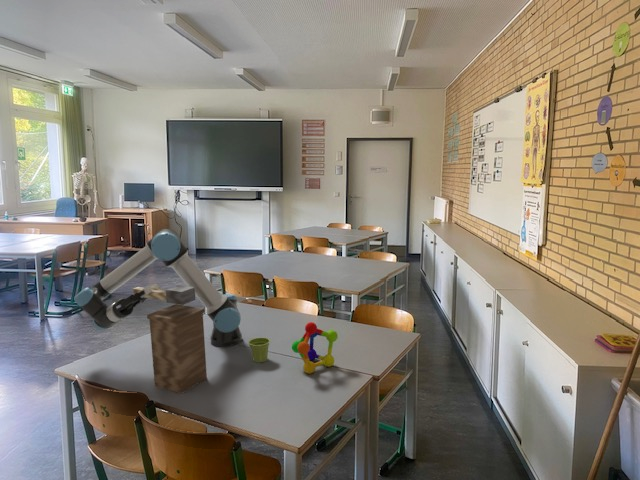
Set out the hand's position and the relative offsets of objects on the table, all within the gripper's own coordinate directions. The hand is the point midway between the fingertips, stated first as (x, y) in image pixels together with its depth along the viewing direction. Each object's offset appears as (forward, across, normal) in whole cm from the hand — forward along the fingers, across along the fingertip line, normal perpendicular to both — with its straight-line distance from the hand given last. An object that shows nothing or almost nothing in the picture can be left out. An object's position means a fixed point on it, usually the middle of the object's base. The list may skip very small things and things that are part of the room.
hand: (153, 287), depth 181 cm
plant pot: (+5, -31, -47) cm, 56 cm away
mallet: (+1, 0, -6) cm, 6 cm away
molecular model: (+25, -34, -59) cm, 72 cm away
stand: (-10, 0, -38) cm, 39 cm away
